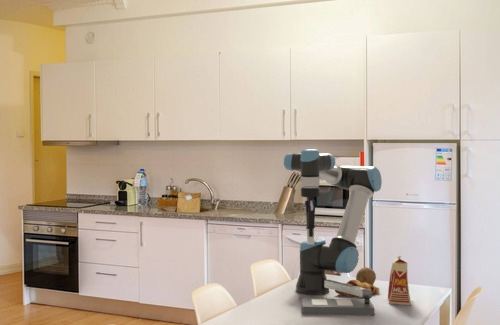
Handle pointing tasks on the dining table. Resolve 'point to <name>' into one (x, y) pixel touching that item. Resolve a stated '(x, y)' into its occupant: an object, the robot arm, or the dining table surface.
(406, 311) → the dining table surface
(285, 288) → the dining table surface
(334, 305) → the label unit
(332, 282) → the swing arm
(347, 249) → the robot arm
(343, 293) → the croissant
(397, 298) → the milk carton
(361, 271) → the natural sponge
